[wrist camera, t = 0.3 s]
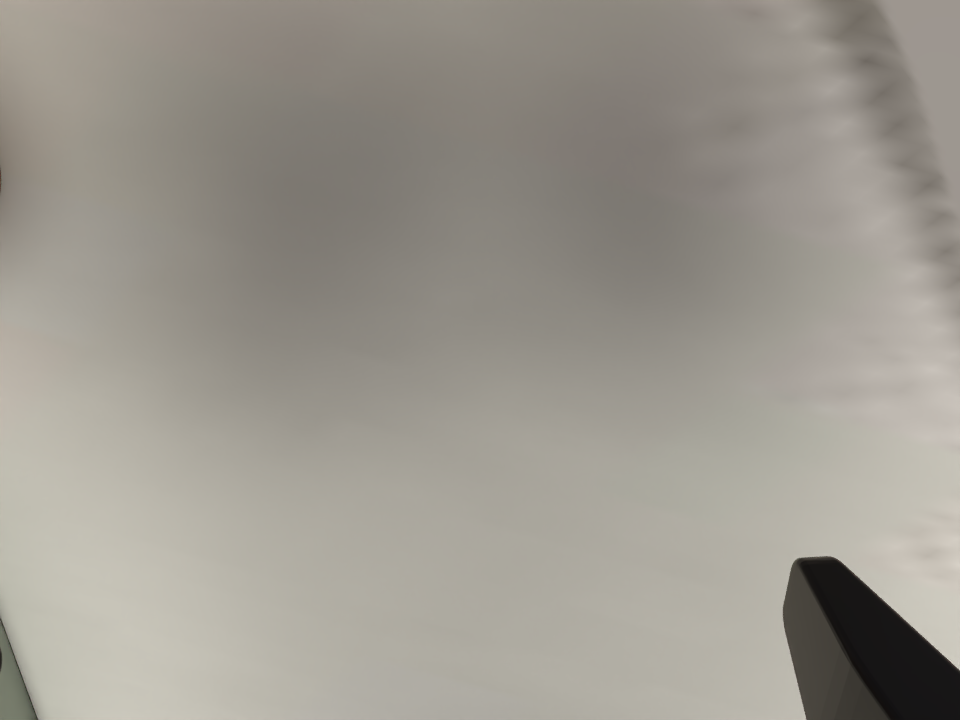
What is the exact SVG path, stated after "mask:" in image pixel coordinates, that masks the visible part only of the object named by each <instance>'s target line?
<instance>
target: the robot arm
mask: <svg viewBox="0 0 960 720" xmlns="http://www.w3.org/2000/svg"><path fill="white" fill-rule="evenodd" d="M783 622H784V628H785V632H786V637H787V641H788V645H789V649H790V653H791V657H792V661H793V666H794V670H795V674H796V678H797V682H798V686H799V690H800V695H801V699H802V703H803V707H804V711H805V715H806V719H807V720H960V670H959V669H958V668H956V667H955V666H954V665H953V664H952V663H951V662H950V661H949V660H948V659H947V658H946V657H944V656H943V655H942V654H941V653H940V652H939V651H938V650H937V649H936V648H935V647H934V646H932V645H931V644H930V643H929V642H928V641H927V640H926V639H925V638H924V637H923V636H922V635H920V634H919V633H918V632H917V631H916V630H915V629H914V628H913V627H912V626H911V625H910V624H908V623H907V622H906V621H905V620H904V619H903V618H902V617H901V616H900V615H899V614H898V613H896V612H895V611H894V610H893V609H892V608H891V607H890V606H889V605H888V604H887V603H886V602H884V601H883V600H882V599H881V598H880V597H879V596H878V595H877V594H876V593H875V592H874V591H872V590H871V589H870V588H869V587H868V586H867V585H866V584H865V583H864V582H863V581H862V580H860V579H859V578H858V577H857V576H856V575H855V574H854V573H853V572H852V571H851V570H850V569H848V568H847V567H846V566H845V565H844V564H843V563H842V562H841V561H839V560H838V559H836V558H833V557H828V556H824V557H805V558H798V559H797V560H795V561H794V563H793V565H792V567H791V572H790V576H789V581H788V586H787V591H786V595H785V600H784V605H783ZM1 668H2V651H1V647H0V672H1Z"/></svg>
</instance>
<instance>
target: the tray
mask: <svg viewBox="0 0 960 720" xmlns="http://www.w3.org/2000/svg"><path fill="white" fill-rule="evenodd" d="M0 647H1V651H2V668H1V672H0V720H37V718H36V715H35V712H34V710H33V707H32V704H31V701H30V699H29V696H28V693H27V691H26V688H25V685H24V683H23V680H22V677H21V674H20V672H19V669H18V666H17V664H16V661H15V658H14V655H13V653H12V650H11V647H10V645H9V642H8V639H7V636H6V634H5V631H4V628H3V626H2V623H1V620H0Z"/></svg>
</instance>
